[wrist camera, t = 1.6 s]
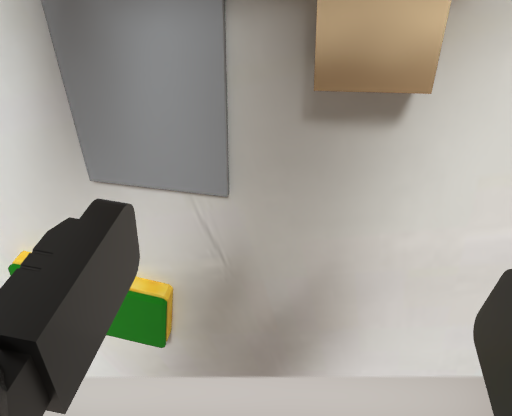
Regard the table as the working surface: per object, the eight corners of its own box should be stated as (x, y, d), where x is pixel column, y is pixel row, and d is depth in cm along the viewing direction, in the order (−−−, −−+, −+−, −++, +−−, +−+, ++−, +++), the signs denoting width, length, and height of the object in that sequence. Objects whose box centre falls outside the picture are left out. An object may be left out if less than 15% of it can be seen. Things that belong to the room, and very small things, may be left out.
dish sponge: (22, 246, 38) (6, 266, 37) (174, 281, 38) (165, 303, 36) (36, 296, 43) (22, 316, 41) (172, 328, 43) (164, 349, 41)
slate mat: (15, -118, 21) (9, -118, 20) (222, -111, 19) (219, -110, 19) (93, 176, 31) (89, 180, 31) (229, 192, 30) (227, 196, 30)
